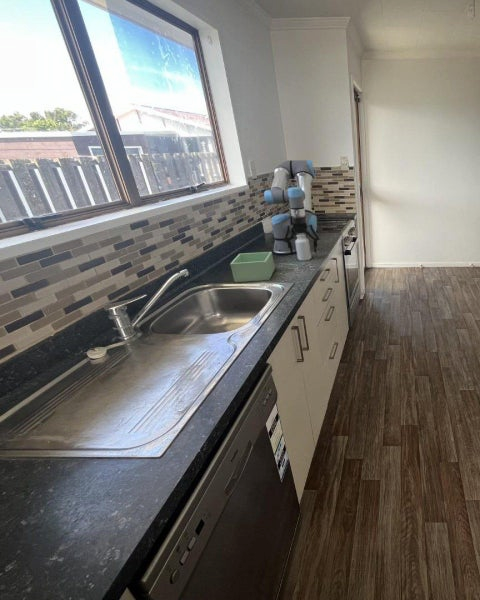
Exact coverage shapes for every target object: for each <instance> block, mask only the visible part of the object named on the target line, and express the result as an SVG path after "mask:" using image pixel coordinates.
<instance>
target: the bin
mask: <svg viewBox="0 0 480 600" xmlns="http://www.w3.org/2000/svg"><path fill="white" fill-rule="evenodd" d="M229 266H230V268H231V273H232V277H233V281H234V283H245V282H259V281H260V282H261V281H270V280H271V277H272V276H273V274H274V272H275V270H276V267H275V262H274V255H273V251H262V252H246V253H238V255H237V256H236V257H235V258H234V259H233V260H232V261H231V262H230V264H229Z"/></svg>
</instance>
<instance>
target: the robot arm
mask: <svg viewBox="0 0 480 600" xmlns="http://www.w3.org/2000/svg"><path fill="white" fill-rule="evenodd" d="M273 175H274V176H273V181H272V183H271V187H270V189H267V190H265V191H264V202H266V204H268V205H278V204H279V205H280V204H282V205H283V204H289V207H290V208H289V209H290V212H286V213H281V214H276V215H274V216H272V217H271V219H270V221H271V227H272V233H273V239H274V244H273V254H274V255H277V256H286V255H287V256H288V255H293V254H297V251H296V244H295V240H296V239H295V236H296V235H297V234H299V233H305V234H306V235H308V236H309V237H310V238H311V239H312V240H313V242H312V243H313V250H314V251H313V252H314V253H317V248H318V241H320V239H321V237H320V236H319V235H318V233H317V229H318V218H317V215H315V213H314V212H313V211H312V186H311V185H312V183H313V181H314V179H316V174H315V170H314V164H313V161H312V160H311V159H302V160H301V159H300V160H290V159H289V160H284V161H282V162H280V163H279V164H278V165H276V167H275V169H274V171H273ZM289 180H294V181H295V182H296V186H293V187H292V186H291V187H288V188H287V189H286V186H287V182H288V181H289Z"/></svg>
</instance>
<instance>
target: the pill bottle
mask: <svg viewBox="0 0 480 600" xmlns="http://www.w3.org/2000/svg"><path fill="white" fill-rule="evenodd" d="M295 236H296V239H294V240H295V244H296V251H297V252H296V257H297V260H298V261H300V262H302V261H303V262H304V261H310V260H311V259H312V252H311V244H310V239H309V238H307V234H305V233H299V234H297V235H295Z"/></svg>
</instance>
